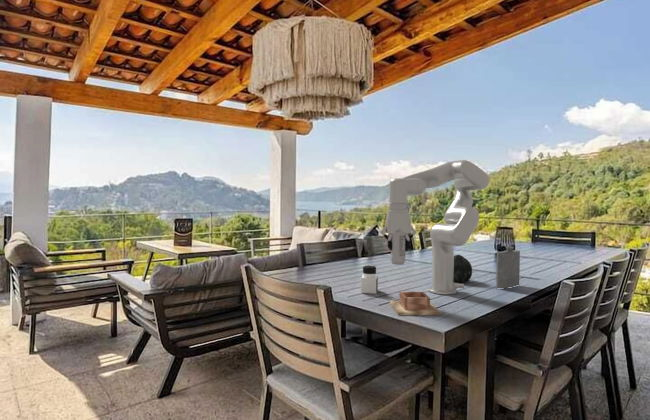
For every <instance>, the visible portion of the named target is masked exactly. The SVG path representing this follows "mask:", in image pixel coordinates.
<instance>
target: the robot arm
mask: <svg viewBox="0 0 650 420" xmlns="http://www.w3.org/2000/svg"><path fill="white" fill-rule="evenodd" d="M489 178H490V177H489V176H488V174H487V173H486V171H484V170H483V169H482V168H480V167H479V166H477V165H476V164H475V163H474V162H471V161H469V160H468V159H463V160H452V161H447V162H445V163H443V164H440V165H437V166H436V167H433V168H430V169H426V170H423V171H420V172H417V173H413V174H410V175H407V176H405V177H399V178H398V177H397V178H392V179H391V178H390V180H389V210H387V211H386V219H385V225H384V227H382V229H381V230H380V231H379V233H380V235H382V236H383V237H384V238H385V239H386V240H387V249H388V250H389V251H391V250H392V241H391V238H392V234H394V232H396V231H397V229H401V230H402V231H403V232H404V234H405V251H408V249H409V248H410V247H409V246H410V240H411V239H412V238H413V237H414V236H415V235H416V234H418V233H417V231H416V230H415V228H414V227H413V226H412V224H411V223H412V222H411V214H410V211H409V209H412V205H411V204H409V203H408V199H409V196H410V197H414V196H415V197H418V196H420V195H424V193H425V191H426V189H430V188H431V189H432V188H437V187H440V186H442V185H445V184H448V183H449V182H451V181H453V186H454V190H455V197H454V199H453V201H452V202H451V204H450V205H449V207H448V208H447V210H446V211H445V213H444V216H443V221H444V222H443V223H441V222H440V223H436V224H434V225H432V227H431V228H430V231H429V232H430V234H429V235H430V242H431V249H432V250H431V251H432V254H431V257H432V259H431V263H432V265H431V286H429V287H428V291H429V293H433V294H437V295H446V296H447V295H455V294H457V292H458V290H457V289H464V288H465V284H464V283H460V282H454V281H453V274H454V256H455V254H454V253H455V252H454V250H453V247H452V246H454V247H455V246H456V247H461V246H464V245H466V243H467V242H468V241H469V239H470V237H471V236H472V234H473V232H474V231H475V229H476V228H477V226H478V224H479V220H480V213H479V211H478V209H477V208H476V207H474V206H473V203H474V200H473V197H472V195H471V191H481V190H485V189H486V188H487V187H488V186H489V183H490V179H489ZM386 233H387V234H388V235H387V234H386Z"/></svg>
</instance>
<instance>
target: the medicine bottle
mask: <svg viewBox="0 0 650 420" xmlns="http://www.w3.org/2000/svg"><path fill="white" fill-rule="evenodd" d="M378 276H379V275H377V266H375V265H372V264H371V265H369V264H368V265H364V266H363V267H362V276H361V277H360V293H361V294H371V295H372V294H374V295H375V294H376V295H377V293H378V286H379V283H378V281H379V277H378Z"/></svg>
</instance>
